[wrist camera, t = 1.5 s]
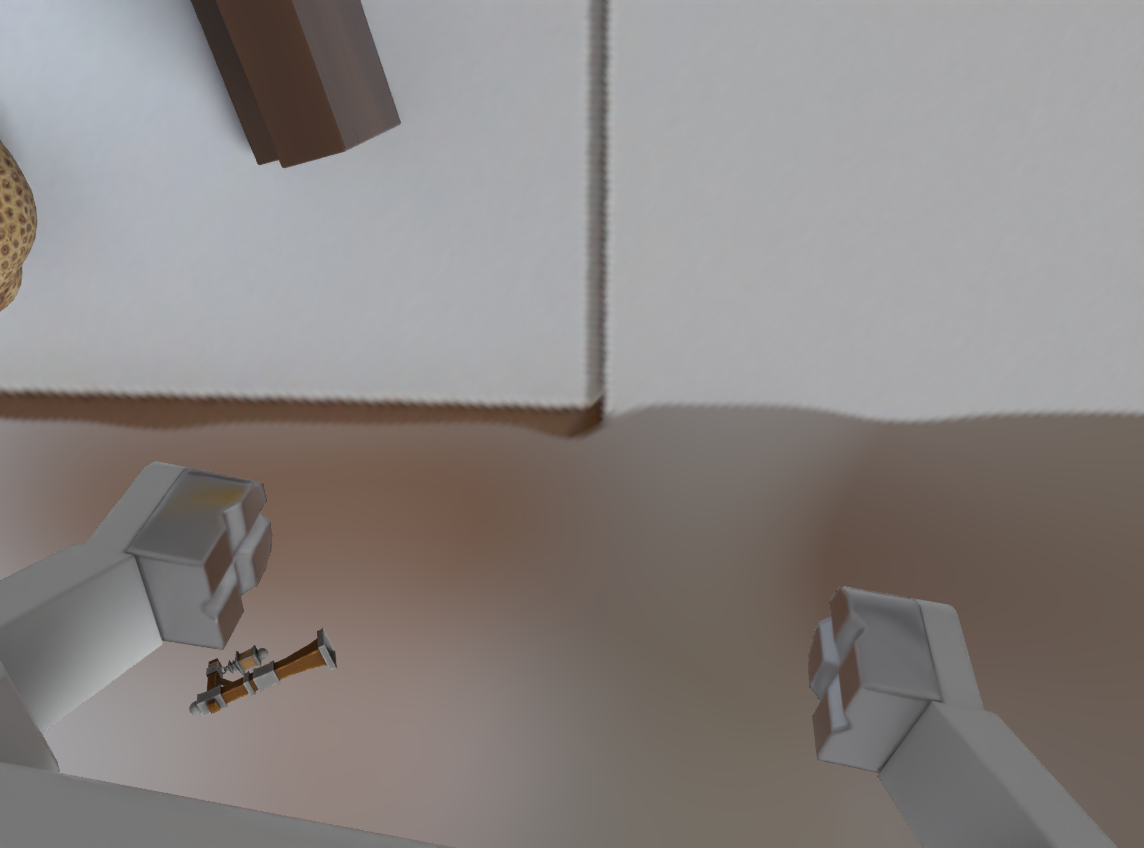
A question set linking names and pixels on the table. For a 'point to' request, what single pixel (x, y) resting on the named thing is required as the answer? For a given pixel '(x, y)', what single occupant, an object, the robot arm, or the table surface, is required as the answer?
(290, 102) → the walnut wall
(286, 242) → the table surface
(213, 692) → the toy blunderbuss
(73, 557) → the robot arm
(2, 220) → the natural sponge
